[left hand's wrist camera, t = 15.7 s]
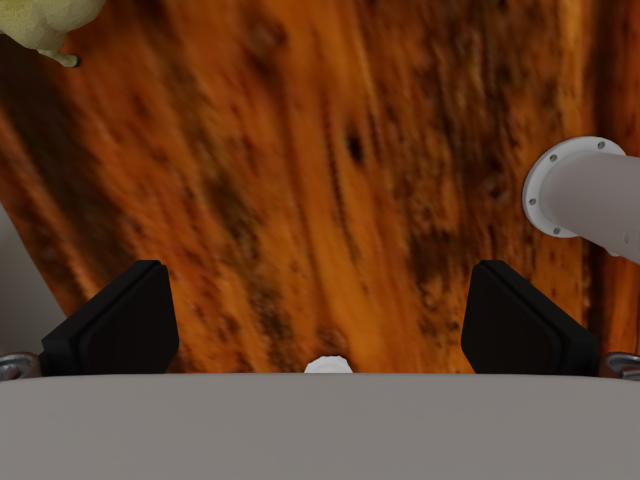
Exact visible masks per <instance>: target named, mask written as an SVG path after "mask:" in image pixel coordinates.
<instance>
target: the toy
mask: <svg viewBox="0 0 640 480" xmlns="http://www.w3.org/2000/svg"><path fill="white" fill-rule="evenodd" d="M106 1H107V0H0V33H1V34H7V35H9V36H10V37H12V38H13V39H14V40H15V41H17V42H18V43H20V44H21V45H23V46H25V47H27V48H31V49H37V50H38V52H39V53H41V54H43V55H46V56H49V57H51V58H53V59H55V60H57V61H58V62H60V63H61V64H62V65H63V66H64V67H76V66H77V65H78V64H79V62H80V59H79V57H77V56H76V55H72V56H70V55H67V54H63V53H61V52H60V51H59V49H60V48H62V47H63V46H64V42H65V40H66V39H67V37H68V33H67V32H70V31H72V30H75V29H78V28H80V27H82V26H84V25H86V24H88V23H89V22H91V21H93V20H94V19H95V18H96V17H97V16H98V15H99V13H100V12H101V10H102V8H103V6H104V4H105V3H106Z"/></svg>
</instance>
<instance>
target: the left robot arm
mask: <svg viewBox="0 0 640 480" xmlns="http://www.w3.org/2000/svg"><path fill="white" fill-rule="evenodd" d="M550 157H551V158H550ZM522 202H523V209H524V211H525V214H526V216H527V218H528V219H529V221H530V222H531V223H532V224H533V225H534V226H535V227H536V228H537V229H539V230H540V231H542V232H544V233H546V234H548V235H551V236H555V237H560V238H570V237H576V236H581V237H583V238H585V239H587V240H589V241H592V242H594V243H596V244H598V245H600V246H602V247H604V248H605V249H606V250H607V251H608V253H609V254H610V255H612V256H622V257H624V258H626V259H628V260H630V261H633V262H635V263H637V264H639V265H640V158H638V157H631V156H626V154H625V153H624V151H623V150H622V149H621V148H620V147H619V146H618V145H616V144H615V143H613V142H612V141H610V140H607V139H604V138H599V137H590V136H582V137H576V138H571V139H568V140H566V141H563V142H561V143H559V144H557V145H555V146H554V147H552V148H551V149H549V150H548V151H547V152H546V153H544V154H543V155H542V156H541V157H540V158H539V159H538V160H537V162H536V163H535V164H534V166H533V167H532V169H531V170H530V172H529V174H528V176H527V178H526V180H525V184H524V187H523V194H522ZM41 341H42V345H43V348H44V351H43V352H42V353H41V354H40V355H39V356H37V355H36V354H34V353H31V352H14V353H8V354H4V355H0V480H640V355H636V354H632V353H626V352H609V353H606V354H604V355H603V356H601V355H600V354H599V353H598V352H597V351H596V348H597V345H598V342H599V340H598V339H597V338H596V337H594V336H593V335H592V334H591V333H589V332H588V331H587V330H586V329H585V328H583V327H582V326H581V325H580V324H579V323H577V322H576V321H575V320H574V319H573V318H571V317H570V316H569V315H568V314H567V313H565V312H564V311H563V310H562V309H561V308H559V307H558V306H557V305H556V304H555V303H553V302H552V301H551V300H550V299H548V298H547V297H546V296H545V295H544V294H542V293H541V292H540V291H539V290H538V289H536V288H535V287H534V286H533V285H532V284H530V283H529V282H528V281H527V280H526V279H524V278H523V277H522V276H521V275H520V274H518V273H517V272H516V271H515V270H514V269H512V268H511V267H510V266H509V265H508V264H506V263H505V262H504V261H502V260H481V261H480V262H479V264H478V265H475V266H474V267H473V270H472V275H471V281H470V287H469V293H468V299H467V305H466V311H465V317H464V323H463V329H462V335H461V347H462V351H463V353H464V354H465V356H466V358H467V359H468V361H469V363H470V365H471V366H472V368H473V370H474V371H475V373H476V374H423V373H210V374H164V373H165V371H166V370H167V368H168V366H169V365H170V363H171V361H172V359H173V358H174V356H175V354H176V353H177V351H178V347H179V335H178V329H177V323H176V317H175V311H174V305H173V299H172V293H171V287H170V281H169V275H168V270H167V267H166V266H165V265H162V264H161V262H160V261H159V260H138V261H136V262H135V263H134V264H132V265H131V266H130V267H129V268H128V269H126V270H125V271H124V272H123V273H122V274H120V275H119V276H118V277H117V278H116V279H114V280H113V281H112V282H111V283H110V284H108V285H107V286H106V287H105V288H104V289H102V290H101V291H100V292H99V293H98V294H96V295H95V296H94V297H93V298H92V299H90V300H89V301H88V302H87V303H85V304H84V305H83V306H82V307H81V308H79V309H78V310H77V311H76V312H75V313H73V314H72V315H71V316H70V317H69V318H67V319H66V320H65V321H64V322H63V323H61V324H60V325H59V326H58V327H57V328H55V329H54V330H53V331H52V332H51V333H49V334H48V335H47V336H46V337H44V338H43V339H42V340H41Z"/></svg>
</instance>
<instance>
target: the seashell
mask: <svg viewBox="0 0 640 480" xmlns="http://www.w3.org/2000/svg"><path fill="white" fill-rule="evenodd" d="M304 373H353V372H352V371H351V369H350V367H349V366H348V363H347V360H346V359H344V358H342V357H340V356H337V357H336V356H335V357H333V356H330V357H325V356H323V357H320V358H319V359H317V360H315V361H313V362H312V363H309V364H308V366H307V368H306V370H305V372H304Z"/></svg>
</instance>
